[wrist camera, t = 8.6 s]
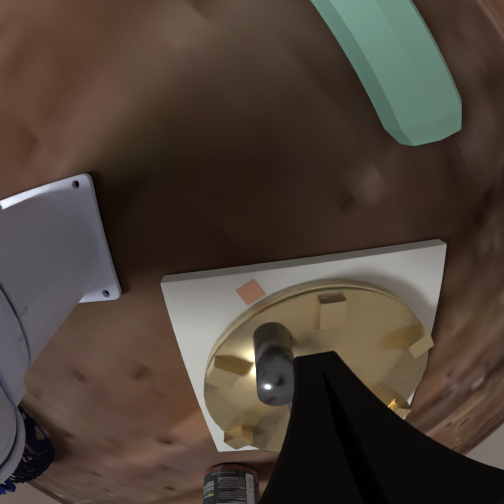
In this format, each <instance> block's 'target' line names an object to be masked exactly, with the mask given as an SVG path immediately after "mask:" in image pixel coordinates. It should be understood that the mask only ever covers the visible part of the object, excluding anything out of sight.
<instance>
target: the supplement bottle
mask: <svg viewBox="0 0 504 504" xmlns="http://www.w3.org/2000/svg"><path fill="white" fill-rule="evenodd" d="M259 501H260V494H259V480H258V475H257V472H256V471H255V470H253V469H252V468H250V467H247V466H244V465H239V464H221V465H217V466H214V467H211V468H210V469H208V470H207V471H206V472H205V478H204V491H203V504H258V503H259Z"/></svg>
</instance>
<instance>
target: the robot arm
mask: <svg viewBox="0 0 504 504" xmlns="http://www.w3.org/2000/svg"><path fill="white" fill-rule="evenodd" d="M76 180H77V181H78V182H79V188H78V187H76V185H75V182H76ZM1 206H2V209H1ZM105 290H107V291H108V292H109V294H107V293H106V292H105ZM120 295H121V288H120V284H119V281H118V278H117V275H116V272H115V268H114V265H113V262H112V258H111V255H110V251H109V248H108V244H107V240H106V237H105V233H104V229H103V225H102V221H101V217H100V213H99V208H98V204H97V200H96V195H95V190H94V185H93V181H92V178H91V176H90V175H89V174H87V173H83V174H80V175H76V176H73V177H69V178H66V179H62V180H59V181H56V182H53V183H49V184H46V185H43V186H40V187H37V188H34V189H31V190H28V191H25V192H22V193H19V194H17V195H14V196H11V197H8V198H6V199H3V200H0V484H1V483H2V482H4V481H5V480H6V479H7V478H8V477H9V476H10V475H11V474H12V473H13V472H14V470H15V469H16V468H17V466H18V464H19V462H20V460H21V457H22V454H23V451H24V446H25V427H24V422H23V419H22V416H21V414H20V412H19V410H18V408H17V406H18V405H19V403H20V401H21V400H22V398H23V396H24V395H25V393H26V391H27V390H26V387H25V384H24V377H25V375H26V373H27V372H28V371H29V369H30V368H31V366H32V365H33V363H34V362H35V360H36V359H37V357H38V356H39V355H40V353H41V352H42V350H43V349H44V348H45V346H46V345H47V343H48V342H49V341H50V339H51V338H52V337H53V335H54V334H55V333H56V331H57V330H58V329H59V327H60V326H61V325H62V323H63V322H64V321H65V319H66V318H67V317H68V316H69V314H70V313H71V312H72V310H73V309H74V308H75V307H76V305H77V304H78V303H80V302H92V301H103V300H115V299H118V298H119V297H120ZM293 377H294V394H293V401H292V408H291V414H290V418H289V422H288V427H287V431H286V435H285V438H284V442H283V445H282V448H281V451H280V454H279V457H278V460H277V463H276V465H275V468H274V470H273V473H272V475H271V478H270V480H269V482H268V484H267V487H266V489H265V491H264V493H263V495H262V497H261V499H260V501H259V503H258V504H504V470H502V469H499V468H496V467H492V466H489V465H486V464H483V463H480V462H478V461H475V460H473V459H470V458H468V457H466V456H463V455H461V454H459V453H457V452H455V451H453V450H451V449H449V448H448V447H446V446H444V445H442V444H440V443H438V442H436V441H435V440H433V439H431V438H430V437H428V436H427V435H425V434H423V433H422V432H420V431H419V430H417V429H416V428H415V427H413V426H412V425H410V424H409V423H408V422H406V421H405V420H404V419H402V418H401V417H400V416H399V415H397V414H396V413H395V412H394V411H393V410H391V409H390V408H389V407H388V406H387V405H386V404H384V403H383V402H382V401H381V400H380V399H379V398H378V397H377V396H376V395H375V394H374V393H373V392H372V391H371V390H370V389H369V388H368V387H367V386H366V385H365V384H364V383H363V382H362V381H361V380H360V379H359V378H358V377H357V376H356V375H355V374H354V372H353V371H352V370H351V369H350V368H349V367H348V366H347V365H346V363H345V362H344V361H343V360H342V359H341V357H340V356H339V355H338V354H337V352H335V351H334V350H333V351H327V352H322V353H316V354H310V355H304V356H297V357H295V358H294V359H293Z"/></svg>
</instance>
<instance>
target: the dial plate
mask: <svg viewBox="0 0 504 504" xmlns="http://www.w3.org/2000/svg"><path fill="white" fill-rule="evenodd" d="M446 246H447V244H446V243H444V242H443V241H441V240H440V239H435V240H428V241H421V242H414V243H408V244H401V245H394V246H387V247H380V248H373V249H365V250H358V251H351V252H344V253H337V254H329V255H322V256H314V257H307V258H300V259H292V260H284V261H277V262H269V263H261V264H254V265H246V266H238V267H230V268H222V269H214V270H206V271H198V272H190V273H182V274H173V275H165V276H163V279H162V281H161V283H160V284H161V288H162V291H163V295H164V298H165V302H166V305H167V309H168V312H169V316H170V319H171V322H172V326H173V329H174V332H175V335H176V338H177V341H178V345H179V348H180V351H181V354H182V357H183V360H184V363H185V366H186V368H187V371H188V374H189V377H190V380H191V383H192V385H193V388H194V391H195V394H196V396H197V399H198V402H199V404H200V407H201V410H202V412H203V415H204V417H205V420H206V422H207V425H208V427H209V430H210V432H211V435H212V437H213V440H214V442H215V444H216V447H217V449H218V451H219V452H221V451H238V450H251V449H258V448H255V447H252V446H249V445H248V446H245V447H242V448H240V449H237V450H235V449H233V448H232V447H230V446H229V445H227V444H225V443H224V431H223V430H222V429H221V428H220V427H219V426H218V425H217V424H216V423H215V422H214V420H213V419H212V418H211V416H210V414H209V412H208V410H207V408H206V405H205V400H204V378H205V370H206V365H207V360H208V357H209V355H210V352H211V350H212V347H213V346H214V344H215V342H216V341H217V339H218V337H219V336H220V335H221V334H222V332H223V331H224V330H225V329H226V328H227V326H228V325H229V324H230V323H231V322H233V321H234V320H235V319H236V318H237V317H238V316H239V315H240V314H242V313H243V312H244V311H246V310H247V309H249V308H250V307H251V306H253V305H254V304H256V303H258V302H260V301H262V300H263V299H265V298H267V297H269V296H271V295H273V294H276V293H278V292H281V291H283V290H285V289H288V288H291V287H295V286H298V285H302V284H305V283H311V282H316V281H322V280H335V279H345V280H358V281H363V282H368V283H372V284H375V285H378V286H381V287H384V288H385V289H387V290H389V291H391V292H393V293H394V294H396V295H397V296H398V297H399V298H401V299H402V300H403V301H404V302H405V303H406V304H407V306H408V307H409V308H410V309H411V310H412V311H413V313H414V314H415V315H416V316H417V318H418V319H419V320H420V321H421V323H422V324H423V325H424V326H425V327H426V329H427V330H428V331H429V332H430V335H431V332H432V328H433V324H434V319H435V314H436V310H437V305H438V299H439V294H440V288H441V282H442V276H443V269H444V262H445V255H446ZM414 392H415V391H414ZM414 392H413V394H412V395H411V397H410V398H409V399H408V400H407V402H408V404H409V406H410V404H411V401H412V398H413V395H414ZM405 417H406V416H405ZM405 417H404V418H403V419H405Z"/></svg>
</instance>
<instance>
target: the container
mask: <svg viewBox="0 0 504 504" xmlns="http://www.w3.org/2000/svg"><path fill="white" fill-rule="evenodd" d="M311 2H312V3H313V4H314V6H315V7H316V9H317V10H318V12H319V13H320V14H321V16H322V17H323V19H324V20H325V22H326V23H327V25H328V26H329V28H330V30H331V31H332V33H333V34H334V36H335V37H336V39H337V41H338V42H339V44H340V45H341V47H342V49H343V50H344V52H345V54H346V56H347V57H348V59H349V61H350V62H351V64H352V66H353V68H354V69H355V71H356V73H357V75H358V77H359V79H360V80H361V82H362V84H363V86H364V88H365V90H366V92H367V94H368V96H369V98H370V100H371V102H372V104H373V106H374V108H375V110H376V112H377V114H378V116H379V118H380V121H381V123H382V125H383V127H384V129H385V130H386V131H387V132H388V133H389V134H390V135H391V136H392V137H393V138H394V139H395V140H396V141H398V142H399V143H400V144H404V145H410V146H417V145H422V144H426V143H430V142H435V141H439V140H442V139H444V138H446V137H448V136H450V135H452V134H453V133H455V132H457V131H459V130H461V120H462V100H461V98H460V95H459V93H458V90H457V88H456V85H455V83H454V80H453V78H452V76H451V73H450V71H449V69H448V67H447V64H446V62H445V60H444V58H443V56H442V54H441V52H440V50H439V48H438V46H437V44H436V42H435V40H434V38H433V36H432V34H431V32H430V30H429V29H428V27H427V25H426V23H425V21H424V20H423V18H422V16H421V15H420V13H419V11H418V10H417V8H416V6H415V5H414V3H413V1H412V0H311Z"/></svg>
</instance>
